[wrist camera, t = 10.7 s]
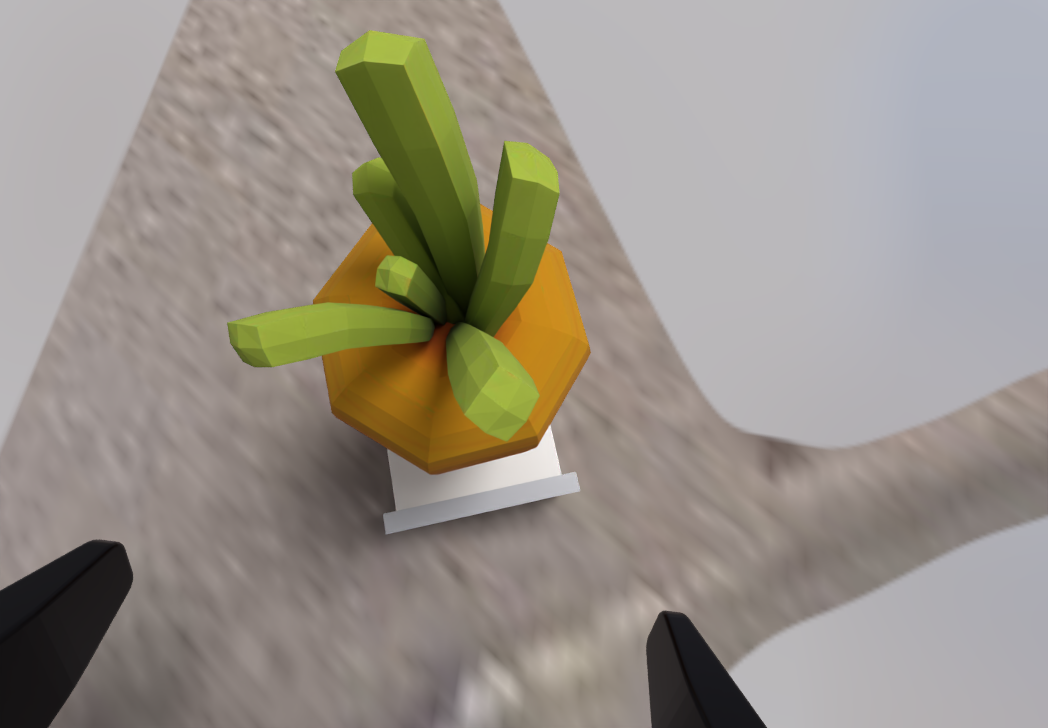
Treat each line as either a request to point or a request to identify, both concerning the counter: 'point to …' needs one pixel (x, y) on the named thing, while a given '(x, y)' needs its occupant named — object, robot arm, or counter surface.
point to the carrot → (435, 283)
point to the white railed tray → (475, 487)
